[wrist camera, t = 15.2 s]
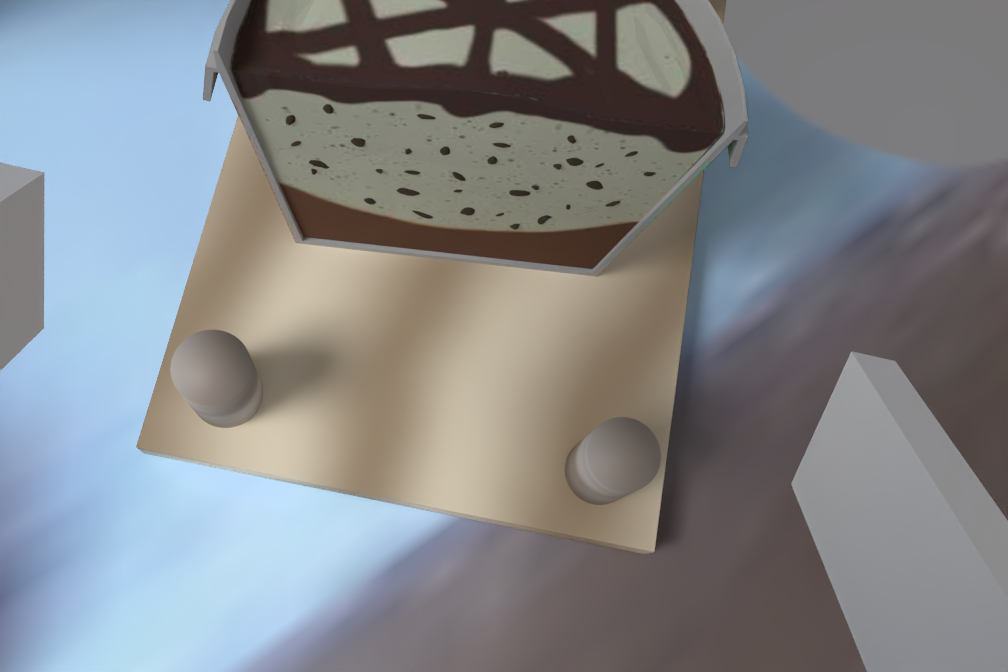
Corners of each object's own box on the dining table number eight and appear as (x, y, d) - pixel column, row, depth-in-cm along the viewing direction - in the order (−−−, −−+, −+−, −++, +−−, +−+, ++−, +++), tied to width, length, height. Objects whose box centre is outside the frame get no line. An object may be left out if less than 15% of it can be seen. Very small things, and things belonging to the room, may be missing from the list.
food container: (646, 110, 32) (767, -108, 22) (643, 281, 30) (772, 124, 20) (273, 60, 30) (231, -194, 21) (246, 238, 29) (186, 47, 19)
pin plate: (144, 452, 27) (108, 426, 24) (318, -120, 34) (312, -214, 30) (644, 554, 28) (687, 544, 25) (720, -18, 35) (764, -96, 31)
